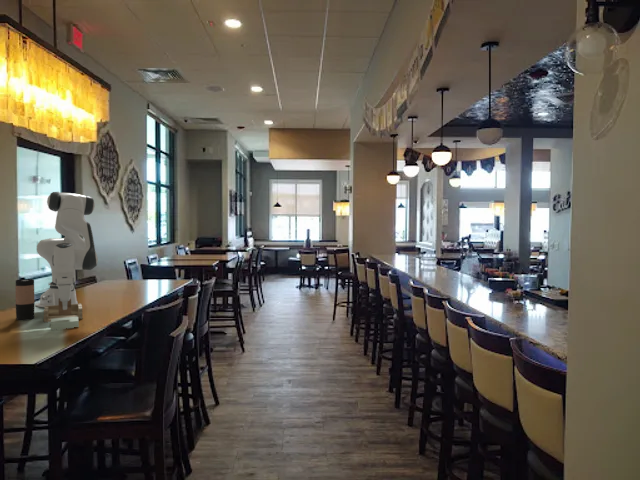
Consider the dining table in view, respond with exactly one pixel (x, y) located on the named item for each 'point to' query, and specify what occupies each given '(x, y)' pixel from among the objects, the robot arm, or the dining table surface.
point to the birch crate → (53, 312)
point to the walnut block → (68, 310)
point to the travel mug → (25, 299)
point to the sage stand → (64, 323)
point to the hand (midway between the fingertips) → (64, 308)
